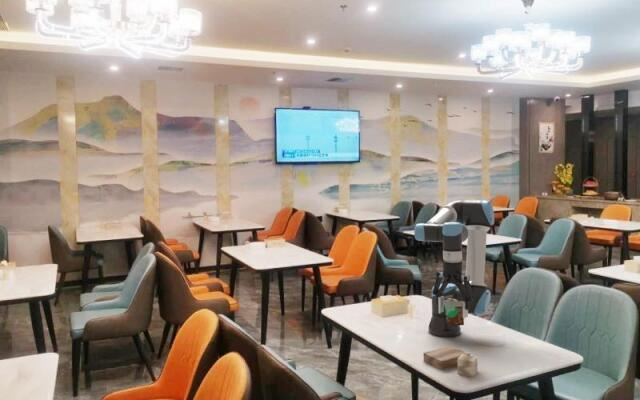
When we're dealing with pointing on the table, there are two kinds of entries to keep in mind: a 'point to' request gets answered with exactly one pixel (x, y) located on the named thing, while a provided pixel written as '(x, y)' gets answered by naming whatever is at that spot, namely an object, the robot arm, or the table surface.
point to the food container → (453, 310)
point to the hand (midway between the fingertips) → (453, 314)
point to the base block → (443, 357)
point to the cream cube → (467, 365)
